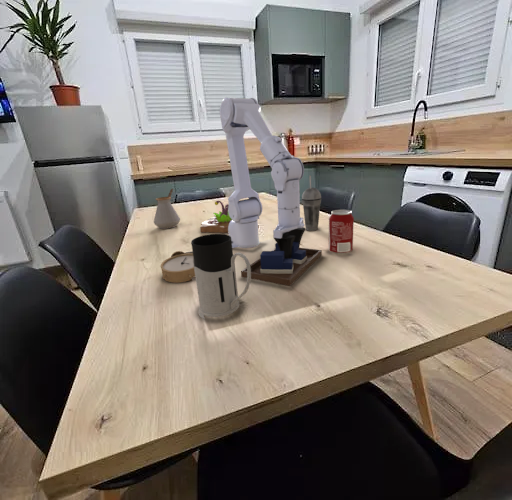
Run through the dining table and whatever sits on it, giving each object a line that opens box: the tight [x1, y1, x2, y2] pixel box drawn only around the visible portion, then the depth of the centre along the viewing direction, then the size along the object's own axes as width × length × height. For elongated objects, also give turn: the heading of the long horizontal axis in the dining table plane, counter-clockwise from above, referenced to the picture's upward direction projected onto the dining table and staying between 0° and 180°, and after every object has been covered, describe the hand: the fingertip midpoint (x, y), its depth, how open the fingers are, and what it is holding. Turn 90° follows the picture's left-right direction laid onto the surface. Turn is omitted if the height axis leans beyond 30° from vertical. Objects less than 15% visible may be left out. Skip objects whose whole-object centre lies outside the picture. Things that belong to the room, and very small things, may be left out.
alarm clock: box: [160, 250, 196, 284], centre depth 81 cm, size 11×5×15 cm
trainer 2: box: [274, 242, 307, 264], centre depth 81 cm, size 8×4×5 cm, turn 59°
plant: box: [200, 200, 232, 234], centre depth 123 cm, size 20×20×11 cm
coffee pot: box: [153, 188, 181, 230], centre depth 135 cm, size 21×12×15 cm, turn 179°
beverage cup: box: [301, 175, 322, 232], centre depth 109 cm, size 7×7×20 cm
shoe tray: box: [240, 247, 323, 287], centre depth 78 cm, size 13×21×2 cm, turn 149°
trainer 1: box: [259, 250, 294, 274], centre depth 74 cm, size 8×4×5 cm, turn 79°
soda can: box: [328, 209, 355, 254], centre depth 85 cm, size 7×7×12 cm
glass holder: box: [190, 233, 252, 320], centre depth 56 cm, size 9×14×15 cm, turn 46°
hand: (290, 256), depth 81 cm, fingers open, 4 cm apart
